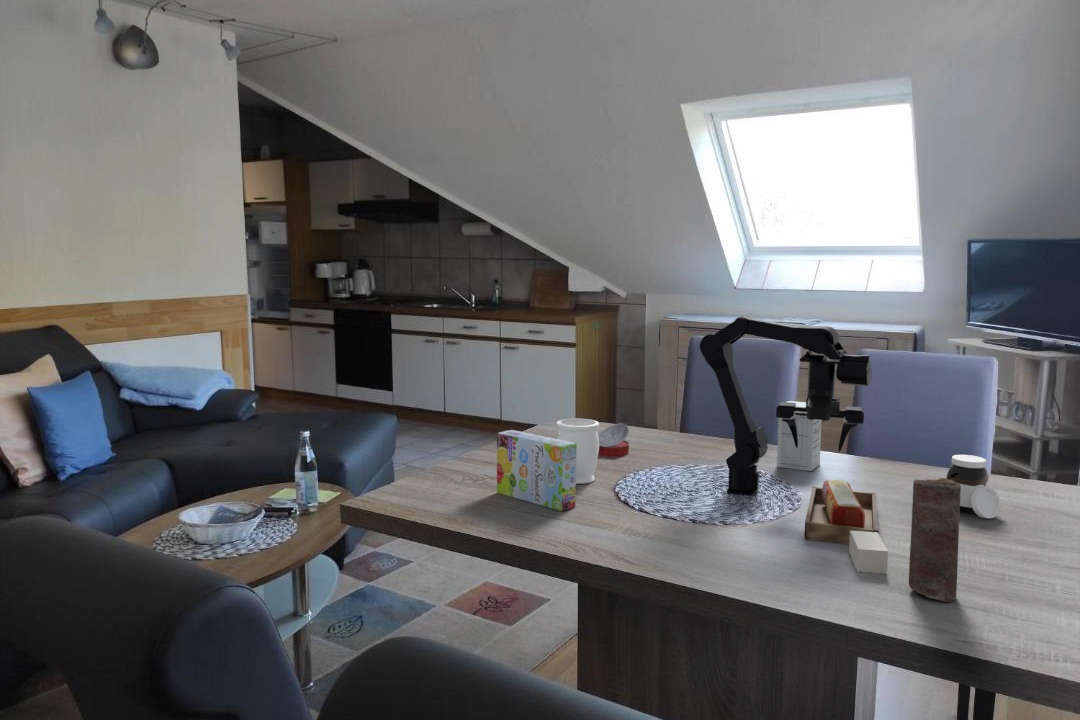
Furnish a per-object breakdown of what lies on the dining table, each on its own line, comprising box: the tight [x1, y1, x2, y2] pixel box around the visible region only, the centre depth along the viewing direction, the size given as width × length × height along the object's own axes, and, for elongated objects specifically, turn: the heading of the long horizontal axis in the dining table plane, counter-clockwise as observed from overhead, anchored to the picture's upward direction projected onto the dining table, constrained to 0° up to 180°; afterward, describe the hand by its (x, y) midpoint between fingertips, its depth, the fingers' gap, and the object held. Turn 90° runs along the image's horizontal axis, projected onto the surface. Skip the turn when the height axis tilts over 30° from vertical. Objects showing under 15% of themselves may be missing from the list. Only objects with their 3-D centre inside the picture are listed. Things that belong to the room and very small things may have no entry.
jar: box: [556, 417, 600, 485], centre depth 205 cm, size 11×10×15 cm
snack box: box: [496, 429, 577, 512], centre depth 189 cm, size 21×6×15 cm, turn 47°
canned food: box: [598, 422, 630, 458], centre depth 233 cm, size 11×10×10 cm
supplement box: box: [776, 400, 822, 472], centre depth 219 cm, size 10×9×17 cm
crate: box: [803, 486, 879, 545], centre depth 174 cm, size 14×27×4 cm, turn 159°
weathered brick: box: [908, 477, 961, 603], centre depth 137 cm, size 8×7×20 cm
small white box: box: [848, 531, 889, 574], centre depth 152 cm, size 5×10×4 cm, turn 168°
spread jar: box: [945, 454, 1002, 519], centre depth 181 cm, size 12×11×12 cm
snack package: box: [821, 479, 865, 528], centre depth 174 cm, size 21×7×7 cm, turn 166°
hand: (818, 449), depth 186 cm, fingers open, 9 cm apart
